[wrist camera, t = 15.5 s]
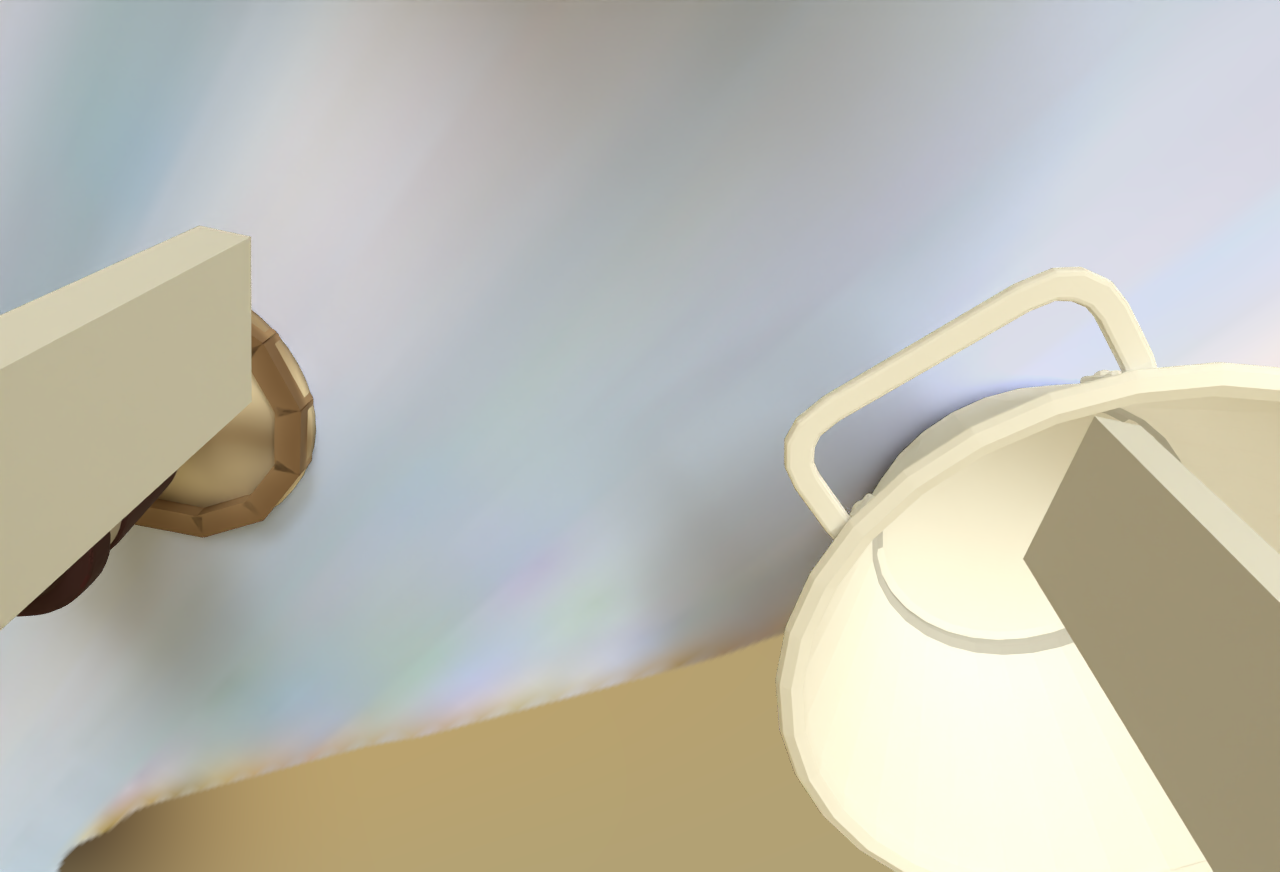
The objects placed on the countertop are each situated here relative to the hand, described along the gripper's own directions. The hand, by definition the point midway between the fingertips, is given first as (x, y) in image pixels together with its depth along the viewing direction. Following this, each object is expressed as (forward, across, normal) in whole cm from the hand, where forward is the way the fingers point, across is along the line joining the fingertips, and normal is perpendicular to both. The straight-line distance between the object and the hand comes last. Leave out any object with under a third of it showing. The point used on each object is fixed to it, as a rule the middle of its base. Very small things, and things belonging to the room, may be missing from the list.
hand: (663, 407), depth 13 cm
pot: (+33, +25, -18) cm, 45 cm away
